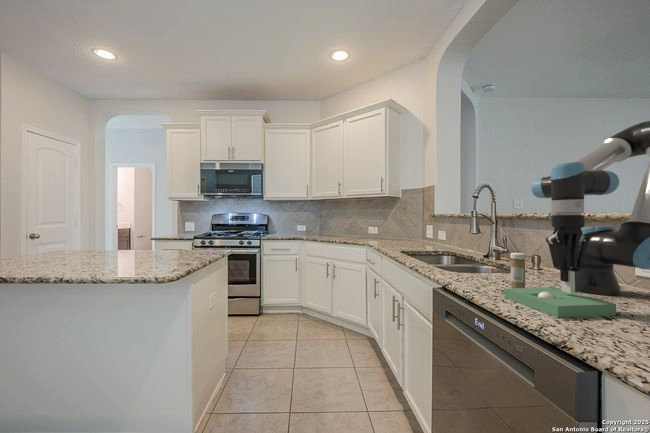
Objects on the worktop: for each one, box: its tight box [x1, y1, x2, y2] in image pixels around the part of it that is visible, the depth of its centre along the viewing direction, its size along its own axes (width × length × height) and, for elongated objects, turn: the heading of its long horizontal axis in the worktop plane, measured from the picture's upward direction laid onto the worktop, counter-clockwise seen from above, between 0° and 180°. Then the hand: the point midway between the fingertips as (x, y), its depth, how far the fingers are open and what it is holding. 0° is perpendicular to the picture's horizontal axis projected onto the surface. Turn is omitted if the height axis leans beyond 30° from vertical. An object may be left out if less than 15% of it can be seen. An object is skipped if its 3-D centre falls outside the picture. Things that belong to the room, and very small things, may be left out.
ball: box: [537, 292, 554, 299], centre depth 82 cm, size 4×4×4 cm
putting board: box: [504, 286, 617, 319], centre depth 83 cm, size 18×18×3 cm
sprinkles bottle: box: [509, 252, 527, 288], centre depth 100 cm, size 5×5×14 cm
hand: (568, 292), depth 83 cm, fingers closed
